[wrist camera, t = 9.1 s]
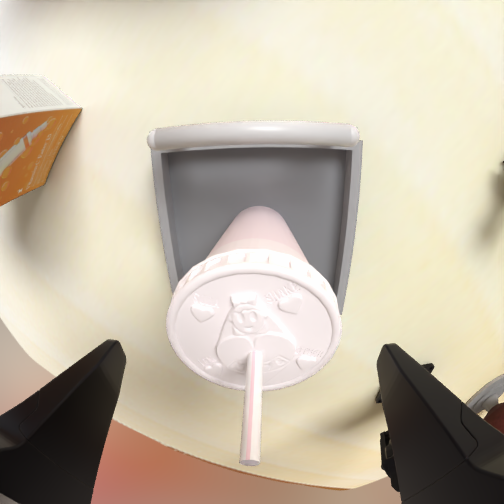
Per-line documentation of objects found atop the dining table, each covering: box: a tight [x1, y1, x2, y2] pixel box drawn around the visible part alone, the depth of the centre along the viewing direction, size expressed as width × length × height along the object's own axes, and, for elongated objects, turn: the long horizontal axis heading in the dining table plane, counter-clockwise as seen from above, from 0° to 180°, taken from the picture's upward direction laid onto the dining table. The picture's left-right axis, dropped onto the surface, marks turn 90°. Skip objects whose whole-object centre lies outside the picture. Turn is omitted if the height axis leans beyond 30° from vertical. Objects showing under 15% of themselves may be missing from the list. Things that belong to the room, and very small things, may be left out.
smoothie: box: [166, 206, 342, 466], centre depth 12 cm, size 6×6×14 cm
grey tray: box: [147, 121, 363, 315], centre depth 16 cm, size 13×12×8 cm
